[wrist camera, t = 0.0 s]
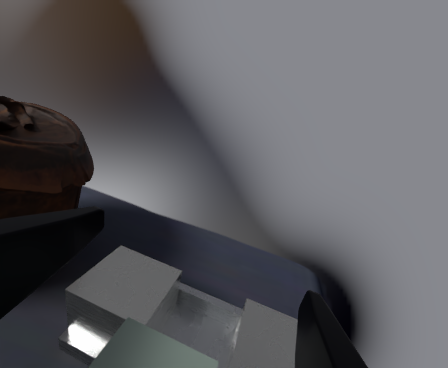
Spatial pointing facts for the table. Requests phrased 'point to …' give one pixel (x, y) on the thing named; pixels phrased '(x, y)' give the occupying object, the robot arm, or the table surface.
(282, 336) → the rail
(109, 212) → the table surface
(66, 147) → the brown flower pot
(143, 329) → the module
